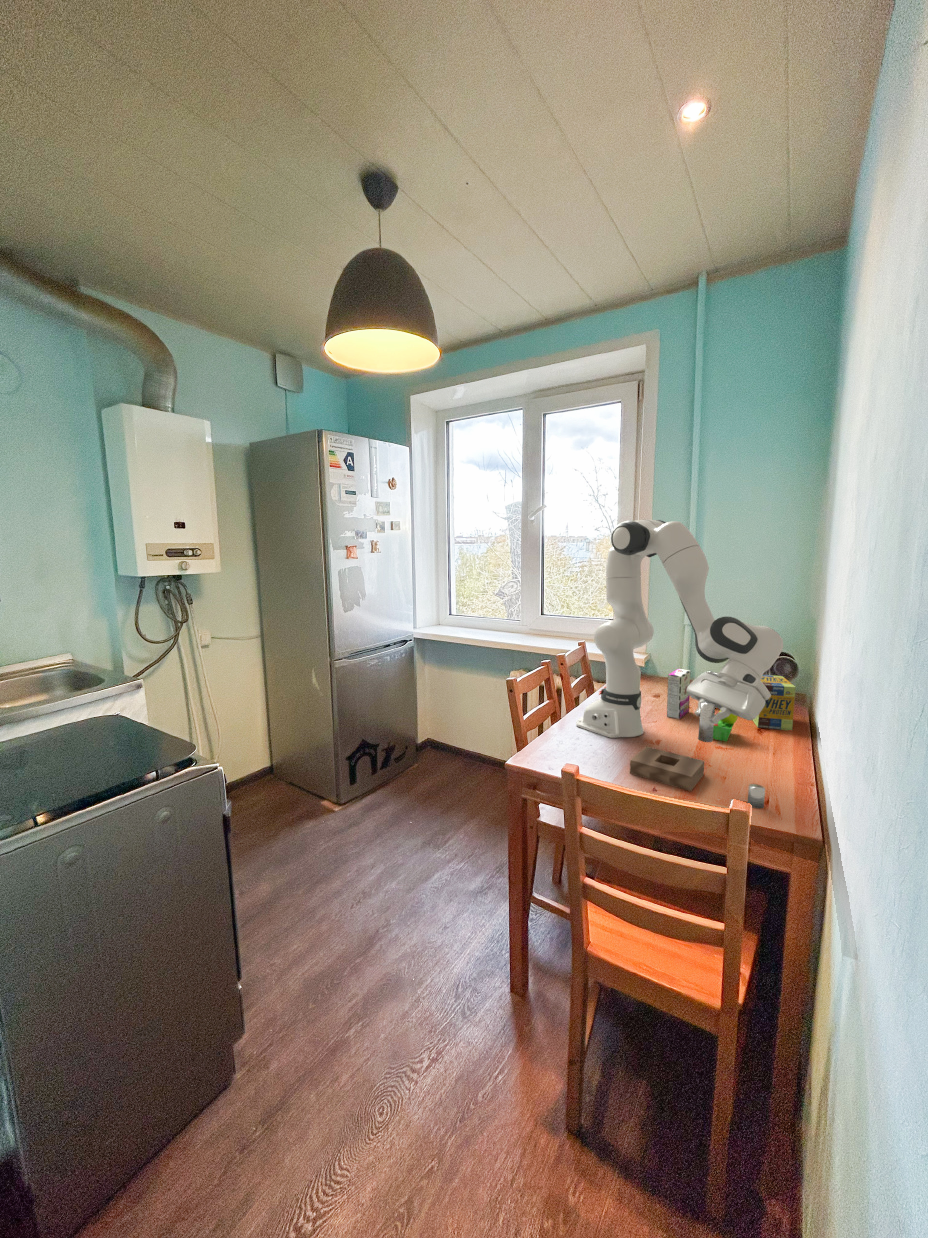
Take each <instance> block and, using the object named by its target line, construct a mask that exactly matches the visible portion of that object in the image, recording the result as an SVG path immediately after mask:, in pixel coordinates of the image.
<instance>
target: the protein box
mask: <svg viewBox="0 0 928 1238" xmlns="http://www.w3.org/2000/svg"><path fill="white" fill-rule="evenodd" d="M760 681H761V682H762V683H763V684H764V685H765V687H766V688H767V689H768V691H769V692H770V694H771V697H770V698H769V699H768V700H765V706H764V708H763V709H762V711H761V712H760V713H759V715H758V716H757V717H756V718H755V719H753V720H752V721H753V723H754V725H755V726H756V727H757V728H759V729H767V728H768V730H778V731H788V730H792V731H793V727H794V726H793V724H794V713H795V712H794V711H795V699H796V692H797V691H796V688H797V687H796V686H795V685H794V684H792V683H791V682H790V681H789V680H788V679H786V678H785V677H784V676H783V675H782V676H781V675H770V674H763V675H762V678H761V680H760Z"/></svg>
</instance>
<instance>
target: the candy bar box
mask: <svg viewBox="0 0 928 1238" xmlns="http://www.w3.org/2000/svg"><path fill="white" fill-rule="evenodd" d="M690 684H691V670H690V669H684V668H677V669H675V670H673V671H672V672H670V673H668V674H667V701H666V705H667V706H666V717H667V718H669V719H670V718H671V719H676V720H681V719H682V718H683V717H684V716H685V715H686V714H688V713H689V712H690V698H691V696H690V695H689V694H688V693H687V687H688V686H689V685H690Z"/></svg>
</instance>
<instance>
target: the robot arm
mask: <svg viewBox="0 0 928 1238" xmlns="http://www.w3.org/2000/svg"><path fill="white" fill-rule="evenodd" d="M610 543H611V547H610V548H609V550H608V553H607V558H606V568H605V569H606V570H605V586H606V587H605V588H606V590H605V591H606V592H605V593H606V601H607V604H609V605H610V607H611V608H612V610H613V612H614V613H613V614H614V618H615V619H613V620H608V621H606V622H604V623H603V624H601V625H599V626H597V628H596V629H595V630H594V634H593V640H594V644H595V646H596V648H598V650H599V651H600V652H601V654H602V656H603V657H602V658H603V659H604V662H605V663H604V665H605V673H606V674H605V675H606V676H605V680H606V681H605V684H606V685H605V686H604V687H603V688H602V689H600V691H599V692H598V696H599V695H600V697H599V698H598V699H596V700H595V701H593V702H591V703H590V704H588V705H587V706H586V707H585V709H584V712H583V715H582V716H581V717H580V718H578V719H577V721H576V725H575V726H576V727H578V728H580V729H584V730H586V731H587V730H588V731H589V732H592V733H595V734H599V735H602V736H604V737H607V738H610V739H615V738H634V737H638V736H641V735H643V734H644V732H645V731H644V730H645V729H644V727H643V724H642V717H641V706H642V691H641V672H642V671H641V667H640V666H639V665H638V664H637V662H636V660H635V656H634V650H635V649H639V648H642V647H644V646H646V644H648V643H649V642H650V641H651V640H652V639H653V636H654V634H655V633H654V632H655V631H654V627H653V625H652V622H650V620H649V619H648V618H647V615H646V612H645V608H644V605H643V598H642V574H641V573H642V572H641V569H642V568H641V566H642V561H643V559H644V558H645V557H647V558H651V557H655V556H656V555H657V556H658V558H659V559H660V562H661V563H662V566H663V568H664V569H665V571H666V573H667V575H668V577H669V579H670V581H671V582H672V585H673V586H674V589H675V591H676V593H677V595H678V597H679V600H680V601H681V605H682V607H683V610H684V612H685V614H686V616H687V618H688V621H689V623H690V625H691V628H692V630H693V633H694V641H695V642H694V645H695V649H696V652H697V654H698V655H699V657H701V658H702V659H703V660H705V661H707V662H708V663H713V664H720V663H721V664H722V663H724V662H725V664H724V665H723V666H722V667H721V669H720V670H719V671H718V672H714V671H712V670H708V671H704V672H702V673H701V674H700V675H698V676H696V678H694V679H693V680H692V681H690V685H689V686H688V687H687V693H688V694H689V695H690V698H692V699H694V700H696V701H698V703H697V704H698V705H697V709H696V710H695V711H694V714H695V716H696V717H699V718H700V708H701V702H703V701H708V702H713V703H715V707H716V708H718V709H717V710H719V711H720V710H721V711H720V712H719V711H718V712H717V713H715V715H714V714H712V715H711V717H709V720H710V721H711V722H712V723H714V724H717V723H718V722H719V721H720V720H721V719H724V718H726V717H728V716H729V715H730V714H733V715H736V716H738V718H739V717H740V718H742V719H744V720H745V721H753V719H755V718H756V717H757V716H758V715H759V713H760V712H761V711H762V709H763V708H764V706H765V700H768V699H769V698H770V697H771V694H770V692H769V691H768V689H767V688H766V687H765V685H764V684H763V683H762V682H761V681H760V680H761V678H762V675H765V673H766V672H767V671H769V670H770V669H771V668H772V666H773V665H774V664H775V663H776V661H777V659H778V658H779V656H780V654H781V653H782V651H783V649H784V640H783V638H782V636H780V634H779V633H778V632H777V631H776V630H774V629H773V628H771V627H769V626H767V625H756V624H755V625H754V624H749V623H746V622H744V621H741V620H740V619H738V618H736V617H733V616H720V617H719V618H717V619H715V618H714V616H713V613H712V611H711V609H710V607H709V605H708V602H707V600H706V596H705V595H706V594H705V593H706V592H705V589H706V582H707V577H708V574H709V569H710V568H709V563H708V560H707V558H706V554H705V552H704V551H703V549H702V548H701V546H700V544H699V543H698V541H697V539H696V538H695V537H694V535H693V534H692V533H691V531H690V530H689V529H688V528H687V527H686V526H685V524H684V523H683V522H681V521H677V520H674V521H668V522H666V521H664V520H661V519H656V520H655V519H648V518H647V519H637V520H631V519H630V520H626V521H622V522H620V523H618V524H617V525H616V526H615V527H614V528H613V530H612V532H611V536H610Z"/></svg>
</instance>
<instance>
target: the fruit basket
mask: <svg viewBox="0 0 928 1238" xmlns="http://www.w3.org/2000/svg"><path fill="white" fill-rule="evenodd" d="M720 711H721V710H720V709H719V711H718V713H719V712H720ZM738 718H739V716H736V715H733V714H730V715H729V716H728V717H726V718H724V719H721V720H720V721H719V722H718V723H717V724H714V729H713V740H715V741H722V742H728V740H729V737H730V734H731V732H732V729H733V727H734V724H735V723H736V721H737V720H738Z"/></svg>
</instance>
